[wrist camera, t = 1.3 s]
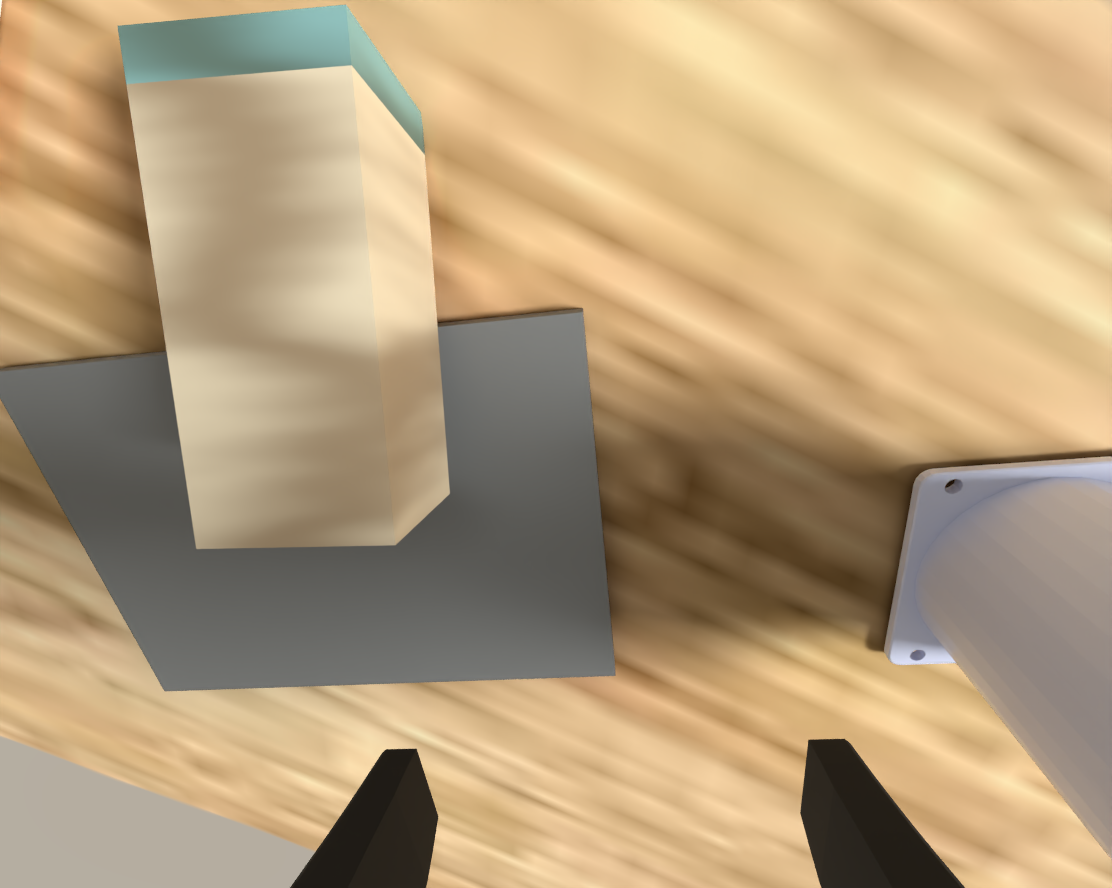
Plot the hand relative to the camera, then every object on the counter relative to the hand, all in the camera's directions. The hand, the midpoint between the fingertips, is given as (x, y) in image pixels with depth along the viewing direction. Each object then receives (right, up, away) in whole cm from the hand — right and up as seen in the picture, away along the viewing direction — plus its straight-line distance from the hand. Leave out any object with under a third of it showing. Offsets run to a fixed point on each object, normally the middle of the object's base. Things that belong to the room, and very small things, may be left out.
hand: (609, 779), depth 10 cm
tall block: (-6, +4, +4) cm, 9 cm away
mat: (-9, +3, +9) cm, 13 cm away
